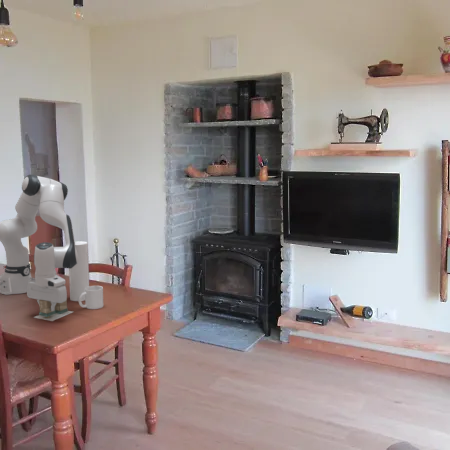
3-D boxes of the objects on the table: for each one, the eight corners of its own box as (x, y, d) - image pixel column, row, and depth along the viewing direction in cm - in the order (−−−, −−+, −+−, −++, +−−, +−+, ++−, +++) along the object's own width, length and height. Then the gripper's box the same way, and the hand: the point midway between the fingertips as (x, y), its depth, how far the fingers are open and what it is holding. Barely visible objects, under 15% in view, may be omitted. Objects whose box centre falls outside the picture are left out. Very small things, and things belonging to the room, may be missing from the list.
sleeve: (39, 315, 231) (38, 300, 230) (47, 312, 235) (46, 297, 234) (47, 317, 229) (46, 301, 228) (55, 313, 233) (54, 298, 232)
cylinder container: (84, 304, 255) (81, 244, 250) (66, 302, 257) (64, 243, 253) (92, 298, 264) (90, 240, 260) (76, 297, 266) (73, 239, 262)
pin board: (33, 319, 232) (32, 306, 231) (55, 310, 244) (55, 298, 243) (52, 323, 227) (51, 310, 226) (73, 314, 240) (73, 301, 239)
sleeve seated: (52, 312, 238) (51, 298, 237) (59, 309, 242) (59, 295, 241) (60, 314, 236) (59, 299, 235) (67, 311, 240) (67, 296, 239)
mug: (82, 314, 240) (81, 292, 238) (75, 309, 246) (74, 288, 245) (106, 309, 248) (105, 288, 246) (98, 305, 254) (98, 284, 252)
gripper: (22, 278, 231) (24, 308, 233) (58, 284, 222) (59, 315, 225) (33, 275, 236) (34, 304, 239) (68, 280, 228) (69, 310, 230)
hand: (47, 309), depth 232 cm, fingers closed on sleeve, 4 cm apart
